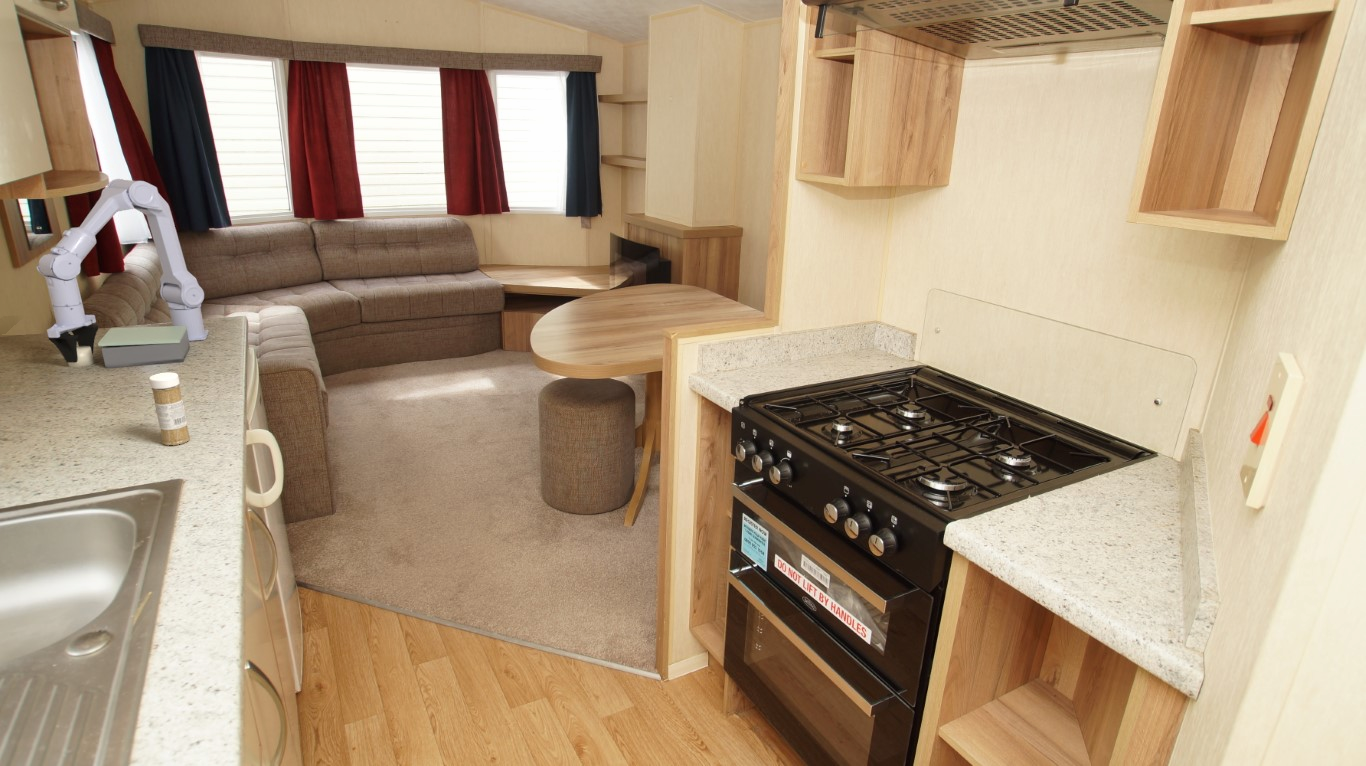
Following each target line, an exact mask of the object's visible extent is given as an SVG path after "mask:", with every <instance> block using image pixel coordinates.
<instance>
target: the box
mask: <svg viewBox="0 0 1366 766" xmlns="http://www.w3.org/2000/svg"><path fill="white" fill-rule="evenodd" d="M101 347H102V348H101V354H102V357H103V362H104V366H105V369H115V368H126V367H139V366H140V367H141V366H150V365H151V366H152V365H153V366H154V365H163V364H172V363H173V364H174V363H184V362H185V360H186V358H187V355H188V353H189V351H190V349H191V344H190V341H189V337H188V332H187V330H186V332H185V334H184V336H183V338H182V340H181V341H180V343H165V344H140V345H116V346H101Z"/></svg>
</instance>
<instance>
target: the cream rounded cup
mask: <svg viewBox="0 0 1366 766" xmlns="http://www.w3.org/2000/svg"><path fill="white" fill-rule="evenodd" d="M93 355H94V354H93ZM93 355H92V351H91V347H90V346H79V345H77V356H78V361H77V362H75V363H67V364H68V367H70V368H82V366H83V367H87V366H90V365H91V366H92V365H94V364H95V359H94V356H93Z"/></svg>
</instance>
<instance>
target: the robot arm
mask: <svg viewBox="0 0 1366 766" xmlns="http://www.w3.org/2000/svg"><path fill="white" fill-rule="evenodd" d="M133 209H134V210H137V211H139V212H140V213H142V214H144V215H146V217H147V221H148V226H149V229H150V232H151V236H152V239H153V242H154V246H155V249H156V253H157V256H158V259H159V263H160V266H161V269H162V275H161V276H160V278H159V282H160V290H159V294H160V297H161V299H162V300H163V301H164V302H165V303H166V305H167V307H168V309H169V314H170V316H169V317H170V319H171V326H187V332H188V337H189V342H190V341H191V342H193V341H194V342H195V341H205V340H207V336H208V334H209V333H210V331H209V330H208V329H205V325H204V319H203V315H202V308H201V307H202V303H203V301H204V299H205V291H204V289H203V288H202V287H201V286H200V285H199V282H198V280H197V278H196V277H195V276H194V275H193V274H192V273H190V271H189V270H188V268H187V264H186V262H185V257H184V254H183V251H182V250H183V249H182V246H181V243H180V240H179V236H178V232H177V229H176V227H175V226H176V225H175V222H174V218H173V215H172V211H171V208H170V205H169V203H168V202H167V201H166V200H165V199H164V198H163V197H162V195H161V194H160V193H159V190H158V187H157V186H155V185H153V184H151V183H149V182H146V181H144V180H131V179H130V180H129V179H123V178H115V179H113V180H111V181H110V182H109V183H108V184H107V187H106V186H105V188H103V189H102V191H101V195H100V196H99V199H98V200H97V201H96V202H95V204H94V206H93V207H92V209H91V210H90V211H89V213H88V214H87V216H86V217H85V218H84V220H83V222H82V223H81V224H80V226H78V227H70V228H69V229H68V230H67V229H65V230H64V231H63V233H62V235H63V237H62V238H61V239H60V241H59V242H57V244H56V245H55V247H53V246H52V247H51V249H50V250H49V252H50V253H47V254H44V255H42V256H41V257H40V259H39V261H38V266H36V270H37V271H38V273H39V274H40V275H41V276H43V277H44V278H45V282H46V286H47V291H48V294H49V299H50V303H51V307H52V311H53V315H54V320H55V323H54V324H53V325H52V326H51V327H50V328H48V329H46V332H47V337H48V340H49V341H50V342H51V343H52V344H53V345H55V347H56V348H57V349H58V351H59V353H61V355H62V357H63V359H64V360H65V362H66V363H67V364H68V363H75V362H77V361H78V356H77V346H90V347H91V351H92V355H94V347H95V346H94V344H95V339H96V335H97V332H98V330H99V325H98V324H96V323H97V320H96V316H95V315H94V314H85V308H84V304H83V300H82V297H81V295H82V294H81V292H80V287H79V284H78V283H79V282H78V278H77V276H78V275H79V274H80V273H81V263H82V262H83V260H84V259H85V258H86V257H87V255H88V254H89V253H90V252H91V250H92V249H93V248H94V247H95V245H96V244H97V239H96V238H97V237H96V235H97V234H98V233H99V232H100V231H101V230H102V229H103V228H104V226H105V225H106V224H108V222H109V221H110V220H111V219H112V218H113V217H114V216H115V214H117V213H118V212H122V211H128V210H133Z"/></svg>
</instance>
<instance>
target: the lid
mask: <svg viewBox="0 0 1366 766" xmlns="http://www.w3.org/2000/svg"><path fill="white" fill-rule="evenodd" d="M186 330H187V326H172V325H170V326H169V325H167V326H166V325H165V326H139V327H137V326H136V327H135V326H133V327H110V329H108V331H107V332H106V333H105V334H104V335H103V337H102V338H101V339H99V342H97V345H98V347H103V346H116V345H140V344H165V343H180V341H181V340H182V338H183V336H184V334H185V332H186Z"/></svg>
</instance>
